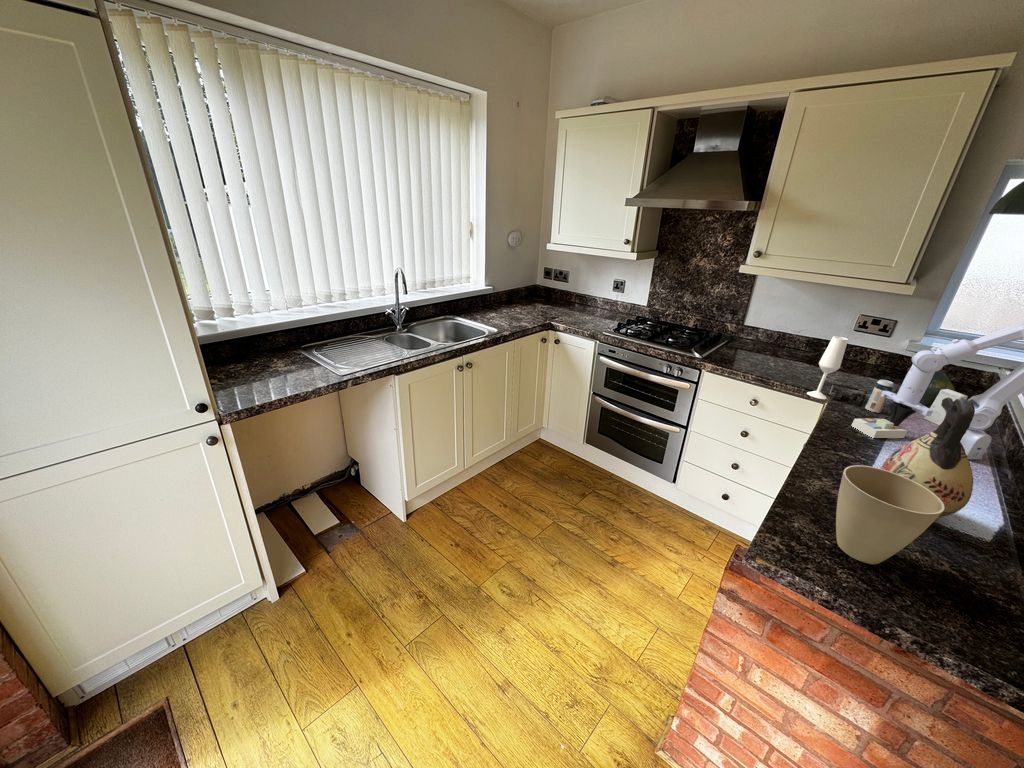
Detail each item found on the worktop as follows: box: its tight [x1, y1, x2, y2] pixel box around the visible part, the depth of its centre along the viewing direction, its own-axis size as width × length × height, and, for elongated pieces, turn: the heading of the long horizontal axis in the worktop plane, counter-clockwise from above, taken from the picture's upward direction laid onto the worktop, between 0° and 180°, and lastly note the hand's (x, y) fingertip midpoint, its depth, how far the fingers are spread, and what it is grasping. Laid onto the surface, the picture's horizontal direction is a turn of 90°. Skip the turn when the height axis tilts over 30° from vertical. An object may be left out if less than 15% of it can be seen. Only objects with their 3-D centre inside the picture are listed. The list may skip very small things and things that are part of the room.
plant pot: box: [835, 464, 945, 565], centre depth 82 cm, size 15×15×16 cm
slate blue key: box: [865, 423, 882, 429], centre depth 135 cm, size 3×3×2 cm
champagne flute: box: [806, 335, 849, 400], centre depth 160 cm, size 7×7×24 cm
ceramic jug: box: [879, 397, 975, 523], centre depth 93 cm, size 17×15×30 cm
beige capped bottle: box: [864, 378, 894, 414], centre depth 152 cm, size 5×5×12 cm
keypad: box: [850, 417, 909, 439], centre depth 137 cm, size 8×12×4 cm, turn 98°
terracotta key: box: [892, 425, 903, 429], centre depth 136 cm, size 3×3×2 cm
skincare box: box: [923, 389, 968, 426], centre depth 147 cm, size 6×4×12 cm
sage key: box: [876, 418, 894, 429], centre depth 135 cm, size 3×3×2 cm
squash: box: [919, 370, 957, 409], centre depth 163 cm, size 14×15×15 cm
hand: (894, 425), depth 136 cm, fingers closed, pressing on terracotta key
